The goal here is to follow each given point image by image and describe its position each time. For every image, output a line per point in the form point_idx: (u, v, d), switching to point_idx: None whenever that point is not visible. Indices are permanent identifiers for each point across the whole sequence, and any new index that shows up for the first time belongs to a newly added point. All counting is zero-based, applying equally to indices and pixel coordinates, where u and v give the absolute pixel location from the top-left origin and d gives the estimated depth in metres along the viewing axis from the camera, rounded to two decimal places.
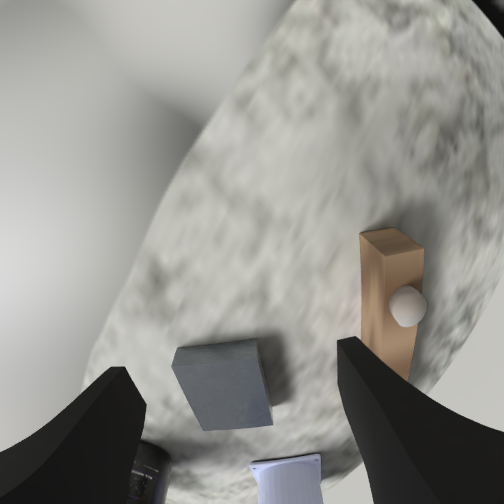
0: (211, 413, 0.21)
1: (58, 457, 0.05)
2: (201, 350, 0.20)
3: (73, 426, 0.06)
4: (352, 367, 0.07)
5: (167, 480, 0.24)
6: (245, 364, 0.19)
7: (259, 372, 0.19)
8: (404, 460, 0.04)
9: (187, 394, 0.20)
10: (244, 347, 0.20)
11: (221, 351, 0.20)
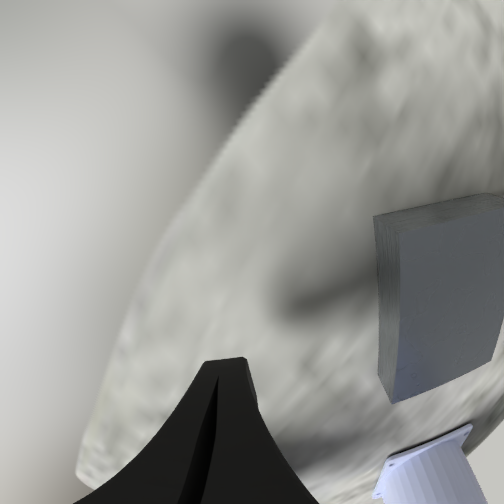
0: (427, 355, 0.10)
1: (185, 477, 0.04)
2: (426, 210, 0.09)
3: (197, 435, 0.05)
4: (218, 389, 0.07)
5: None
6: None
7: None
8: (209, 494, 0.04)
9: (405, 312, 0.09)
10: (486, 199, 0.09)
11: (461, 206, 0.09)
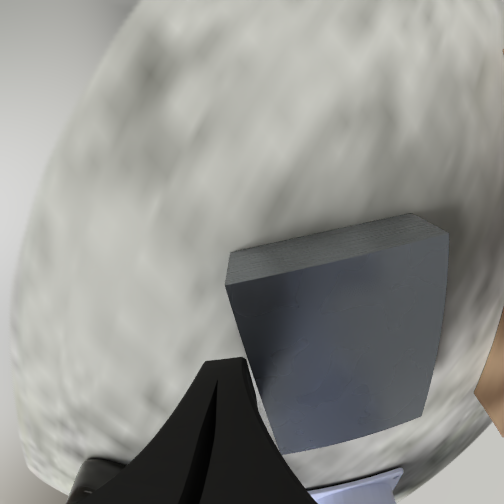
0: (311, 414, 0.09)
1: (186, 477, 0.04)
2: (299, 245, 0.08)
3: (198, 435, 0.05)
4: (218, 389, 0.07)
5: None
6: (424, 256, 0.07)
7: (444, 280, 0.07)
8: (208, 493, 0.04)
9: (261, 372, 0.08)
10: (403, 226, 0.08)
11: (353, 238, 0.08)
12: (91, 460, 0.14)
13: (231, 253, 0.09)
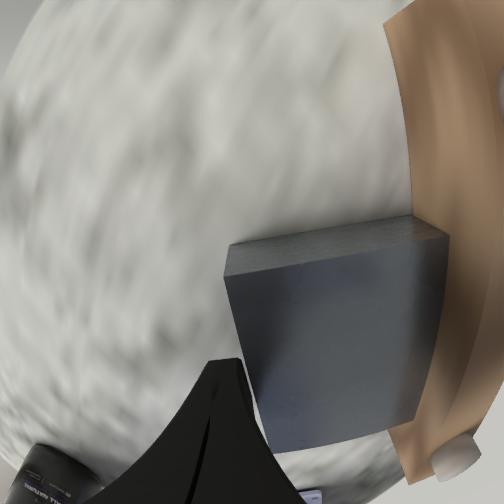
0: (304, 414, 0.09)
1: (191, 478, 0.04)
2: (299, 241, 0.08)
3: (202, 434, 0.05)
4: None
5: None
6: (424, 257, 0.07)
7: (443, 282, 0.07)
8: (200, 493, 0.04)
9: (255, 368, 0.08)
10: (404, 227, 0.08)
11: (354, 236, 0.08)
12: (36, 446, 0.14)
13: (230, 246, 0.09)
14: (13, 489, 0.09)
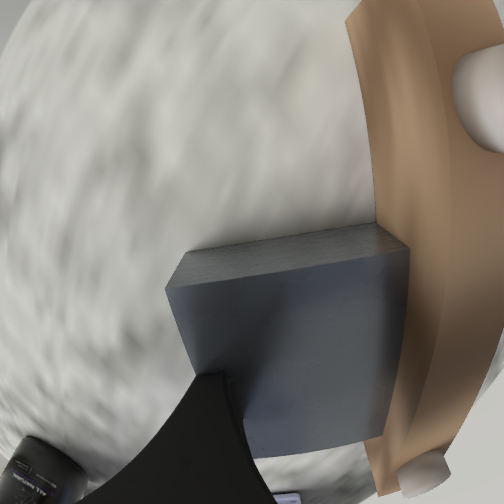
0: (261, 424, 0.09)
1: (185, 477, 0.04)
2: (248, 252, 0.08)
3: (197, 435, 0.05)
4: (197, 391, 0.07)
5: (72, 501, 0.12)
6: (380, 272, 0.07)
7: (405, 299, 0.07)
8: (179, 492, 0.04)
9: None
10: (363, 237, 0.08)
11: (305, 248, 0.08)
12: (26, 438, 0.14)
13: (184, 256, 0.09)
14: (2, 478, 0.10)
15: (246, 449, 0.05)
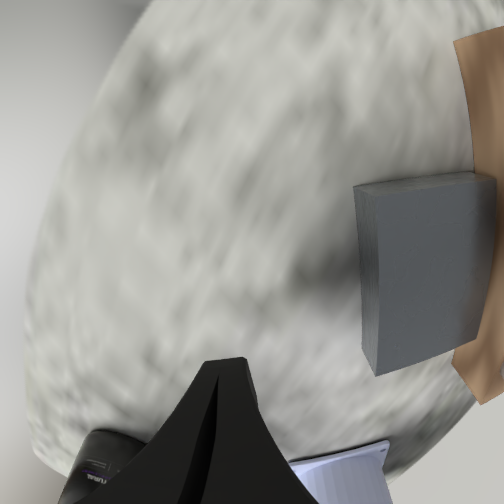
0: (409, 325, 0.11)
1: (185, 477, 0.04)
2: (404, 181, 0.10)
3: (197, 435, 0.05)
4: (218, 389, 0.07)
5: None
6: (483, 192, 0.09)
7: (494, 212, 0.09)
8: (209, 493, 0.04)
9: (385, 277, 0.10)
10: (465, 175, 0.10)
11: (439, 179, 0.10)
12: (94, 432, 0.16)
13: (354, 186, 0.11)
14: (72, 483, 0.11)
15: (275, 446, 0.05)
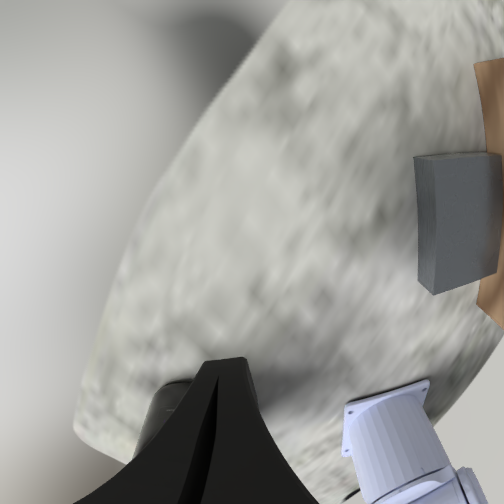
0: (454, 252, 0.14)
1: (185, 477, 0.04)
2: (444, 155, 0.14)
3: (197, 435, 0.05)
4: (218, 389, 0.07)
5: None
6: (494, 163, 0.12)
7: (501, 177, 0.13)
8: (209, 493, 0.04)
9: (439, 214, 0.14)
10: (481, 153, 0.13)
11: (465, 154, 0.13)
12: (168, 385, 0.20)
13: (414, 157, 0.15)
14: (153, 436, 0.15)
15: (275, 446, 0.05)
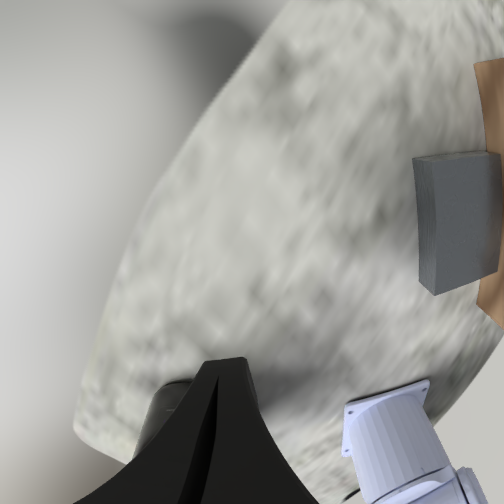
0: (454, 253, 0.14)
1: (185, 477, 0.04)
2: (443, 155, 0.14)
3: (197, 435, 0.05)
4: (218, 389, 0.07)
5: None
6: (493, 162, 0.12)
7: (501, 176, 0.13)
8: (209, 493, 0.04)
9: (439, 215, 0.14)
10: (480, 152, 0.13)
11: (464, 154, 0.13)
12: (168, 385, 0.20)
13: (413, 158, 0.15)
14: (153, 436, 0.15)
15: (275, 446, 0.05)
